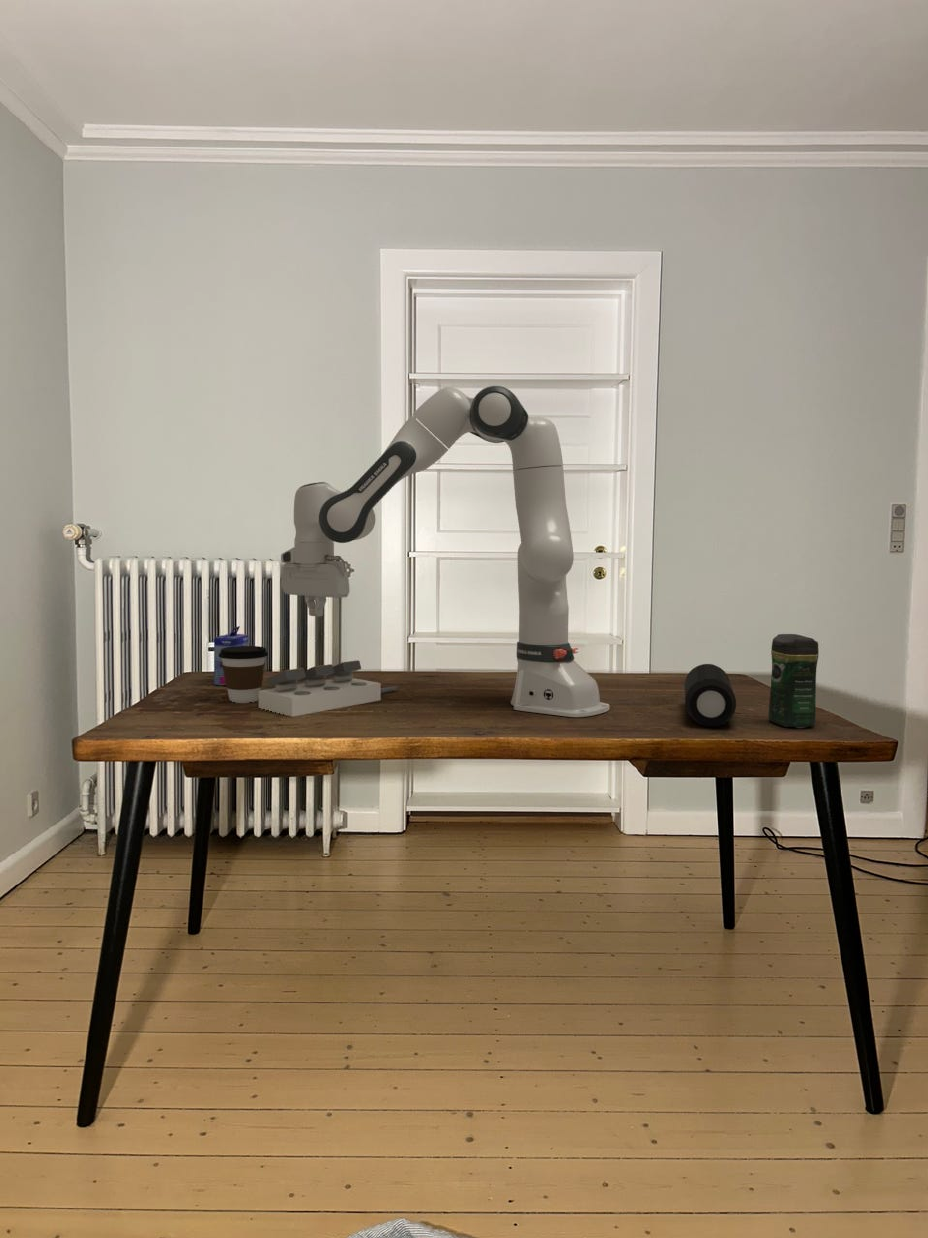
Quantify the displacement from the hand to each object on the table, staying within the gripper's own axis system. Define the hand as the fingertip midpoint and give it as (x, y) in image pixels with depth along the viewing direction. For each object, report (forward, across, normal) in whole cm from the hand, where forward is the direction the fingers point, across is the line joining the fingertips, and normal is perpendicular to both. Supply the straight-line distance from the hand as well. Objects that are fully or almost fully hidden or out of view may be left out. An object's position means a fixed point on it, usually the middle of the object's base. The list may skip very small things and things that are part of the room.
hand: (316, 616), depth 200 cm
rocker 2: (+13, -2, +2) cm, 13 cm away
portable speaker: (+21, -73, -47) cm, 90 cm away
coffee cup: (+20, +12, +12) cm, 26 cm away
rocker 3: (+13, -2, -6) cm, 14 cm away
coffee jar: (+21, -89, -52) cm, 105 cm away
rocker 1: (+13, -2, +10) cm, 16 cm away
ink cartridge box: (+19, +34, +1) cm, 39 cm away
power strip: (+20, -4, -3) cm, 20 cm away
